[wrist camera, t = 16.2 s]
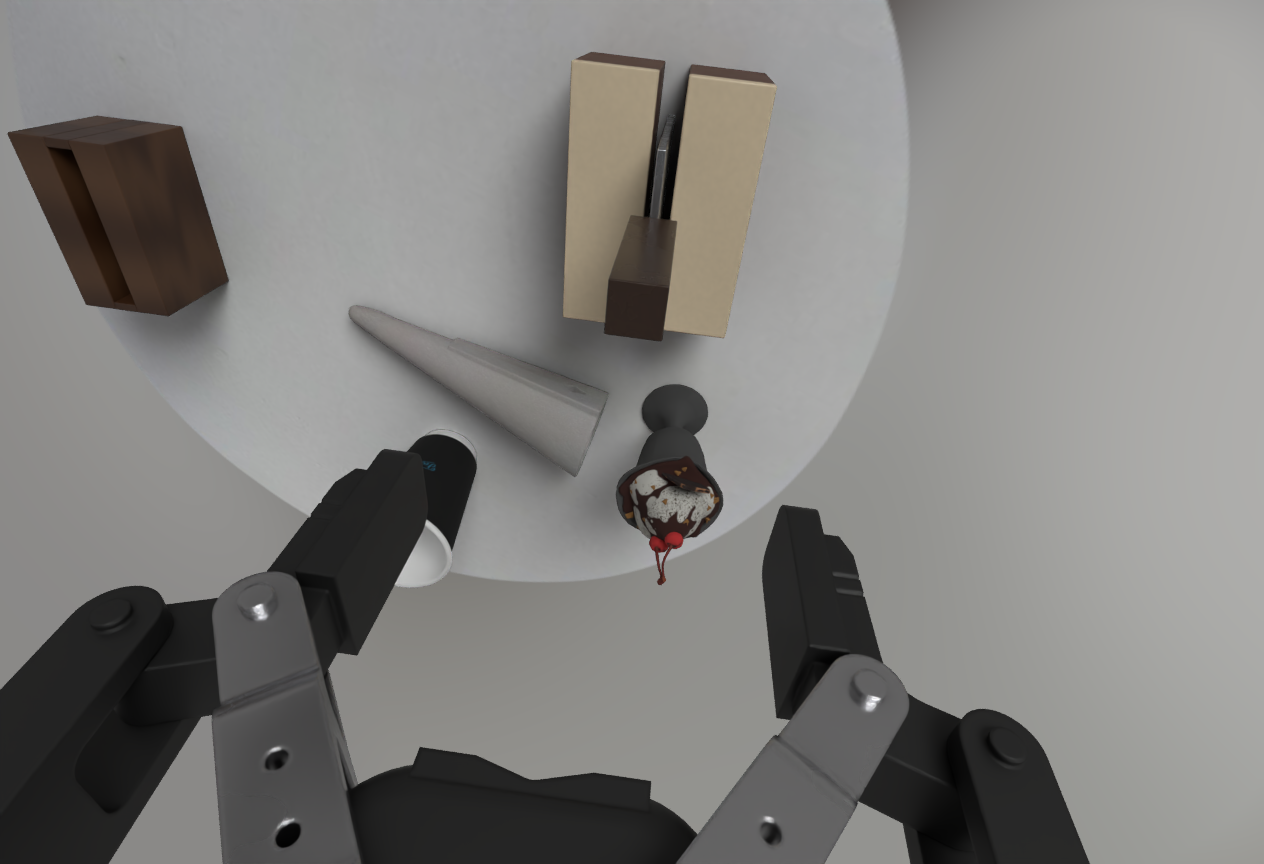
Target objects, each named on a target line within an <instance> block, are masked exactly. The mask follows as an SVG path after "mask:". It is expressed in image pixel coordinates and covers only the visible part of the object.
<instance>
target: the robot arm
mask: <svg viewBox="0 0 1264 864" xmlns="http://www.w3.org/2000/svg"><path fill="white" fill-rule="evenodd" d="M427 513H428V501H427V494H426V487H425V479H424V472H423V464H422V459H421V456H420V455H419V454H418V453H411V452H403V451H396V450H389V449H384V450H382V451H381V452H380V453H379V454H378V455H377V457H376V458H375V460H374V461H373V462H372V464H371V465H370V467H369V468H368V469H367V470H364V469H357V468H356V469H354V470H353V471H351V472H350V473H348V474H347V475H345V476H344V477H342V478H341V479H339V480H338V481H336V482H335V483H334V484H333V486H332V487H331V488H330V490H329V491H328V492H327V494H326V495H325V496H324V498H323V499H322V502H321V503H319V504H318V505H317V507H316V508H315V509H314V511H313V512H312V513H311V517H310V518H307V520H306V521H305V522H304V524H303V525H302V526H301V528H300V529H299V530H298V532H297V533H296V534H295V535H294V537H293V538H292V539H291V541H290V542H289V543H288V545H287V546H286V547H285V549H284V550H283V551H282V552H281V554H280V555H279V556H278V558H277V559H276V560H275V562H274V563H273V564H272V565H271V567H270V568H269V569H268V570H267V572H263V573H258V574H254V575H251V576H249V577H246V578H244V579H241V580H239V581H238V582H236V583H234V584H233V585H231V586H230V587H229V588H228V589H226V590H225V591H224V592H223V593H222V594H221V595H220V597H219V598H214V599H207V600H199V601H191V602H183V603H175V604H167V605H166V604H165V602H164V600H163V599H162V597H161V595H160V594H159V593H158V592H157V591H156V590H154V589H152V588H149V587H144V586H129V587H123V588H118V589H114V590H111V591H108V592H106V593H103V594H101V595H99V596H97V597H95V598H93V599H92V600H90V601H88V602H86V603H85V604H84V605H82V606H81V607H80V608H78V609H77V610H76V611H75V612H74V613H73V614H72V615H71V616H70V617H69V618H68V619H67V620H66V621H65V622H64V623H63V624H62V626H60V627H59V629H58V630H57V631H56V632H55V633H54V634H53V635H52V636H51V637H50V638H49V639H48V640H47V641H46V642H45V643H44V644H43V645H42V646H41V648H40V649H39V650H38V651H37V652H36V653H35V654H34V655H33V656H32V657H31V658H30V659H29V660H28V661H27V662H26V663H25V664H24V665H23V667H22V668H21V669H20V670H19V671H18V672H17V673H16V674H15V675H14V676H13V677H12V678H11V679H10V680H9V681H8V682H7V683H6V684H5V685H4V687H3V688H2V689H1V690H0V864H109V862H110V860H111V859H112V857H113V856H114V854H115V852H116V851H117V849H118V848H119V846H120V845H121V843H122V841H123V840H124V838H125V837H126V835H127V833H128V832H129V830H130V829H131V827H132V826H133V824H134V822H135V821H136V819H137V818H138V816H139V815H140V813H141V811H142V810H143V808H144V807H145V805H146V804H147V802H148V800H149V799H150V797H151V795H152V794H153V792H154V791H155V789H156V788H157V786H158V785H159V783H160V781H161V780H162V778H163V777H164V775H165V774H166V772H167V770H168V769H169V767H170V766H171V764H172V762H173V761H174V759H175V758H176V756H177V755H178V753H179V751H180V750H181V748H182V747H183V745H184V743H185V742H186V740H187V739H188V737H189V736H190V734H191V732H192V731H193V729H194V728H195V726H196V725H197V723H198V721H199V720H200V718H201V717H203V716H209V715H212V733H213V746H214V758H215V771H216V783H217V795H218V808H219V821H220V835H221V847H222V860H223V864H824V863H825V862H826V860H827V858H828V856H829V854H830V853H831V851H832V849H833V847H834V846H835V844H836V842H837V841H838V839H839V837H840V835H841V833H842V832H843V830H844V828H845V827H846V825H847V823H848V821H849V819H850V818H851V816H852V814H853V812H854V810H855V808H856V806H857V804H858V803H857V802H858V801H859V802H861V803H863V804H865V805H867V806H869V807H871V808H873V809H875V810H877V811H879V812H881V813H883V814H885V815H887V816H889V817H891V818H893V819H895V820H897V821H899V822H901V823H903V826H904V832H905V838H906V842H907V848H908V853H909V858H910V864H1090V863H1089V861H1088V858H1087V856H1086V853H1085V851H1084V849H1083V846H1082V843H1081V841H1080V838H1079V836H1078V833H1077V831H1076V828H1075V826H1074V823H1073V821H1072V818H1071V816H1070V813H1069V811H1068V808H1067V806H1066V803H1065V801H1064V798H1063V796H1062V793H1061V791H1060V788H1059V786H1058V783H1057V781H1056V778H1055V776H1054V773H1053V770H1052V768H1051V766H1050V763H1049V760H1048V758H1047V756H1046V754H1045V752H1044V750H1043V748H1042V747H1041V745H1040V744H1039V742H1038V741H1037V740H1036V739H1035V737H1034V736H1033V735H1032V734H1031V733H1030V732H1029V731H1028V730H1027V729H1026V728H1024V727H1023V726H1022V725H1021V724H1020V723H1018V722H1017V721H1015V720H1014V719H1012V718H1010V717H1008V716H1007V715H1005V714H1002V713H1000V712H997V711H993V710H988V709H976V710H972V711H970V712H968V713H967V714H966V715H965V716H964V717H963V718H962V719H959V718H957V717H955V716H953V715H950V714H948V713H946V712H944V711H941V710H939V709H937V708H934V707H932V706H930V705H927V704H925V703H923V702H921V701H919V700H917V699H916V698H914V697H913V696H911V695H910V694H908V693H907V691H906V689H905V687H904V685H903V683H902V682H901V680H900V679H899V678H898V676H897V675H896V674H895V673H894V672H893V671H892V670H891V669H890V668H888V667H887V666H886V665H884V664H883V661H882V658H881V655H880V651H879V648H878V644H877V640H876V637H875V633H874V629H873V626H872V622H871V618H870V615H869V611H868V607H867V604H866V600H865V597H863V589H862V585H861V582H860V580H859V575H858V571H857V567H856V563H855V560H854V556H853V554H852V553H851V552H850V551H849V549H848V548H847V546H846V545H845V544H844V543H843V541H842V540H841V539H840V537H839V536H832V535H825V534H824V533H823V529H822V525H821V521H820V516H819V513H818V511H817V510H816V509H809V508H802V507H795V506H788V505H782V506H781V507H780V509H779V512H778V514H777V518H776V521H775V524H774V527H773V530H772V533H771V536H770V539H769V542H768V545H767V548H766V551H765V555H764V560H763V568H762V582H763V592H764V601H765V610H766V611H765V612H766V621H767V630H768V641H769V650H770V660H771V670H772V679H773V689H774V699H775V708H776V717H777V718H780V719H788V720H790V721H789V722H788V724H787V725H786V726H785V728H784V729H783V730H782V731H781V733H780V734H779V735H778V736H777V735H775V736H773V737H772V738H771V739H770V740H769V742H768V743H767V744H766V746H765V747H764V748H763V749H762V751H761V752H760V753H759V755H758V756H757V757H756V759H755V760H754V761H753V762H752V764H751V765H750V766H749V768H748V769H747V770H746V772H745V773H744V774H743V776H742V777H741V778H740V780H739V781H738V782H737V783H736V785H735V786H734V787H733V789H732V790H731V791H730V793H729V794H728V795H727V797H726V798H725V799H724V801H723V802H722V803H721V805H720V806H719V807H718V809H717V810H716V811H715V813H714V814H713V815H712V816H711V818H710V819H709V820H708V822H707V823H706V824H705V826H704V827H703V828H702V830H701V831H700V832H699V834H698V835H697V833H696V832H695V831H694V830H693V829H692V828H691V827H690V826H689V825H688V824H687V823H686V822H685V821H684V820H683V819H681V818H680V817H679V816H678V815H676V814H675V813H674V812H673V811H671V810H670V809H668V808H666V807H665V806H663V805H662V804H660V803H658V802H656V801H654V800H651V799H650V790H651V781H646V780H640V779H633V778H626V777H619V776H612V775H606V774H599V773H589V774H581V775H572V776H564V777H557V778H549V779H541V780H529V779H527V778H524V777H522V776H520V775H518V774H516V773H514V772H511V771H509V770H507V769H505V768H503V767H500V766H498V765H496V764H494V763H492V762H490V761H487V760H485V759H483V758H481V757H479V756H476V755H470V754H463V753H457V752H449V751H443V750H436V749H429V748H423V747H420V748H419V751H418V753H417V756H416V759H415V761H414V764H413V765H409V766H404V767H400V768H396V769H392V770H389V771H386V772H384V773H381V774H378V775H376V776H374V777H372V778H370V779H368V780H366V781H364V782H362V783H360V784H358V782H357V779H356V775H355V772H354V768H353V765H352V762H351V758H350V754H349V751H348V747H347V743H346V739H345V735H344V730H343V726H342V722H341V718H340V714H339V710H338V706H337V701H336V697H335V693H334V690H333V686H332V681H331V677H330V673H329V670H328V668H329V667H330V665H331V663H332V661H333V659H334V658H335V656H336V654H337V653H344V654H351V655H358V653H359V651H360V649H361V647H362V645H363V643H364V641H365V640H366V638H367V636H368V634H369V632H370V630H371V628H372V626H373V624H374V622H375V621H376V619H377V617H378V615H379V613H380V611H381V609H382V607H383V605H384V604H385V602H386V600H387V598H388V596H389V594H390V592H391V590H392V589H393V587H394V585H395V583H396V581H397V579H398V577H399V575H400V573H401V572H402V570H403V568H404V566H405V564H406V562H407V560H408V558H409V556H410V555H411V553H412V551H413V549H414V547H415V545H416V543H417V541H418V539H419V538H420V536H421V534H422V532H423V529H424V527H425V524H426V520H427Z"/></svg>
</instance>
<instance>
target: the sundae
mask: <svg viewBox="0 0 1264 864" xmlns="http://www.w3.org/2000/svg"><path fill="white" fill-rule="evenodd" d="M642 411H643V419H644V421H645V423H646V424H647V426H648V427H649V429H651V430H652V431H653V432H654V433H653V434H651V435H650V436H649V437H648V439H647V440H646V442H645V444H644V446H643V449H642V451H641V454H640V456H639V459H638V462H637V466H636V467H634V468H633V469H631V470H629V471H628V472H627V473H625V474H624V475H623V476H622V477H621V479H620V480H619V482H618V485H617V490H616V500H617V505H618V510H619V511H620V513H621V515H622V517H623V518H624V519H625V520H626V522H627V523H628V524H630V525H631V526H633V527H635V528H637V529H639V530H640V531H641V532H642V534H644V535H645V536H646V537H647V538H649V539H650V541H649V545H650V547H651V549H652V550H653V551H655V554H656V561H657V566H658V570H659V572H660V578H659V579H658V581H657V583H658V585H662V584H663V583H664V582H665V581H666V579H665V576H664V562H665V559H666V557H667V555H668V554H669V552H670V551H671V549H672V548H673V549H677V548H679V547H681V546H682V544H683V539H685V538H689V537H697V536H698V535H699V534H700V533H702V532H703V531H704V530H706V529H707V528H708V527H709V526H710V525H711V524H712V523H713V522H714V521H715V520H716V518H717V517H718V515H719V514H720V512H721V510H722V507H723V495H722V492H721V490H720V488H719V486H718V484H717V482H716V481H715V479H714V478H713V477H712V476H711V475H710V473H709V472H708V471H707V469H706V464H705V459H704V455H703V452H702V449H701V447H700V444H699V442H698V440H697V439H696V437H695V436H694V434H696V433H697V432H698V431H699V430H700V429H701V428H702V427H703V426H704V424H705V422H706V420H707V417H708V409H707V405H706V402H705V400H704V399H703V397H702V396H701V395H700V394H699V393H698V392H696V391H695V390H693V389H692V388H689V387H687V386H683V385H666V386H663V387H660V388H658V389H656V390H654V391H653V392H652V393H651V394H650V395H649V396H648V397H647V398H646V400H645V402H644V405H643V408H642ZM668 547H669V549H668ZM667 549H668V550H667ZM666 550H667V552H666V554H665V556H664V558H663V562H662V572H661V569H660V564H659V555H658V552H659V553H660V552H665V551H666Z"/></svg>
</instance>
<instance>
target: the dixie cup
mask: <svg viewBox="0 0 1264 864" xmlns="http://www.w3.org/2000/svg"><path fill="white" fill-rule="evenodd" d="M407 452H411V453H418V454H419V455H420V456H421V459H422V464H423V472H424V479H425V487H426V494H427V501H428V513H427V520H426V524H425V527H424V529H423V532H422V534H421V536H420V538H419V539H418V541H417V543H416V545H415V547H414V549H413V551H412V553H411V555H410V556H409V558H408V560H407V562H406V564H405V566H404V568H403V570H402V572H401V573H400V575H399V577H398V579H397V581H396V583H395V585H394V586H399V587H405V588H418V587H425V586H429V585H432V584H435V583H437V582H438V581H440V580H441V579H443V578H444V577H445V576H446V574H447V573H448V572H449V570H450V568H451V565H452V549H453V546H454V543H455V539H456V536H457V533H458V530H459V526H460V523H461V520H462V517H463V513H464V510H465V507H466V503H467V500H468V497H469V494H470V490H471V487H472V484H473V480H474V477H475V474H476V469H477V465H476V461H477V455H476V451H475V449H474V447H473V445H472V444H471V443H470V442H469V441H468V440H467V439H466V438H465V437H463V436H462V435H460V434H458V433H456V432H453V431H449V430H435V431H432V432H429V433H428V434H426V435H425V436H424V437H422V438H420V439H418V440H417V441H416V442H415V443H414V444H413V446H412V447H411V448H410V449H409V450H408V451H407Z"/></svg>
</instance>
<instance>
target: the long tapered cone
mask: <svg viewBox="0 0 1264 864" xmlns="http://www.w3.org/2000/svg"><path fill="white" fill-rule="evenodd" d="M349 316H350V318H351V319H352V320H353V321H354V322H355V323H356V324H357V325H359V326H360V327H361V328H363V329H364V330H365V331H367V332H368V333H370V334H371V335H372V336H374V337H375V338H376V339H378V340H379V341H380V342H382V343H383V344H384V345H386V346H387V347H389V348H390V349H392V350H393V351H394V352H396V353H397V354H399V355H400V356H402V357H403V358H404V359H406V360H407V361H409V362H410V363H412V364H413V365H414V366H416V367H417V368H419V369H420V370H422V371H423V372H425V373H426V374H427V375H429V376H430V377H432V378H433V379H435V380H436V381H438V382H439V383H440V384H442V385H443V386H445V387H446V388H448V389H449V390H451V391H452V392H453V393H455V394H456V395H458V396H459V397H461V398H462V399H463V400H465V401H466V402H468V403H469V404H471V405H472V406H474V407H475V408H476V409H478V410H479V411H481V412H482V413H484V414H485V415H486V416H488V417H489V418H491V419H492V420H494V421H495V422H496V423H498V424H499V425H501V426H502V427H504V428H505V429H506V430H508V431H509V432H511V433H512V434H514V435H515V436H517V437H518V438H520V439H521V440H522V441H524V442H525V443H527V444H528V445H530V446H531V447H533V448H534V449H535V450H537V451H538V452H539V453H541V454H542V455H543V456H545V457H546V458H548V459H549V460H551V461H552V462H554V463H555V464H556V465H558V466H559V467H561V468H562V469H564V470H565V471H567V472H568V473H569V474H571V475H572V476H574V477H576V476H577V474H578V472H579V470H580V468H581V465H582V463H583V461H584V458H585V456H586V453H587V451H588V448H589V446H590V444H591V441H592V438H593V436H594V433H595V431H596V428H597V426H598V423H599V420H600V418H601V415H602V412H603V410H604V407H605V404H606V400H607V398H608V395H609V393H607V392H604V391H602V390H599V389H596V388H593V387H591V386H588V385H585V384H582V383H580V382H577V381H574V380H572V379H569V378H566V377H563V376H561V375H558V374H555V373H552V372H550V371H547V370H544V369H542V368H539V367H536V366H533V365H531V364H528V363H525V362H522V361H520V360H517V359H514V358H512V357H509V356H506V355H503V354H501V353H498V352H495V351H492V350H490V349H487V348H484V347H482V346H479V345H476V344H473V343H471V342H468V341H465V340H462V339H460V338H457V339H455V340H452V339H449V338H446V337H443V336H441V335H438V334H436V333H433V332H430V331H428V330H425V329H422V328H420V327H417V326H414V325H412V324H409V323H406V322H404V321H401V320H399V319H396V318H393V317H391V316H389V315H387V314H385V313H382V312H380V311H377V310H374V309H371V308H367V307H362V306H357V305H354V306H351V307H350V308H349Z"/></svg>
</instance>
